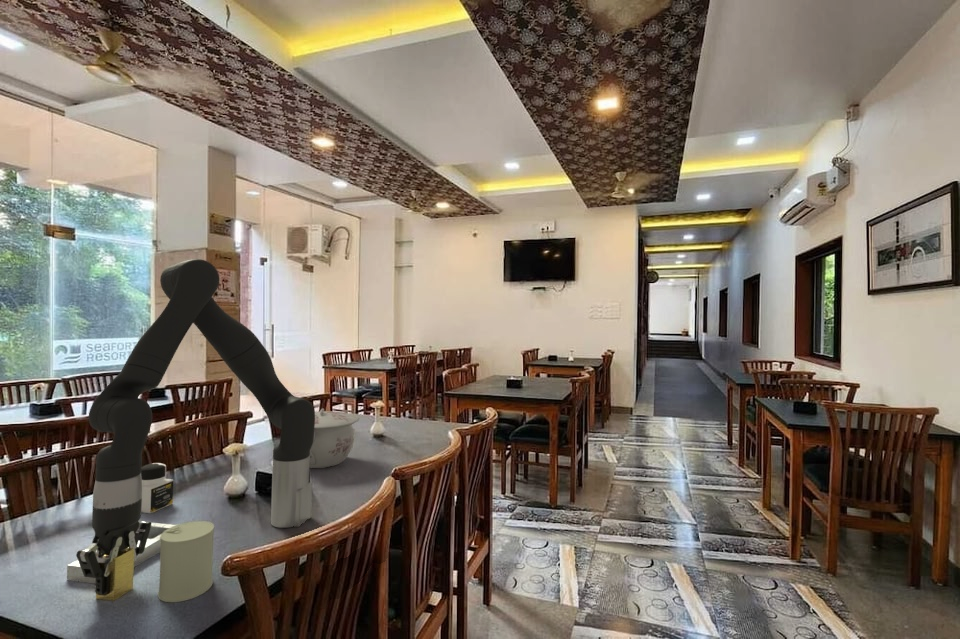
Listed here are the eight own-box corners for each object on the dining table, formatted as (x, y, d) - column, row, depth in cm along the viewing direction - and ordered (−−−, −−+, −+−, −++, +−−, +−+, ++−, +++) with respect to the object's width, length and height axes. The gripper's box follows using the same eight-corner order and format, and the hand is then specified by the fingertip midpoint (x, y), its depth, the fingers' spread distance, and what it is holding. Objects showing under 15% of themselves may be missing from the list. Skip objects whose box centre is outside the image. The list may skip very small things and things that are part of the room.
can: (175, 575, 94) (177, 518, 95) (221, 575, 95) (223, 518, 95) (146, 603, 85) (148, 539, 85) (197, 602, 86) (199, 539, 86)
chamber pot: (329, 448, 190) (330, 399, 190) (373, 462, 174) (374, 408, 174) (264, 464, 167) (266, 408, 167) (308, 481, 151) (310, 419, 151)
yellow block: (132, 588, 90) (134, 548, 90) (113, 600, 86) (115, 558, 86) (115, 586, 90) (116, 546, 90) (95, 598, 86) (97, 556, 86)
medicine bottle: (150, 514, 123) (152, 470, 123) (129, 511, 125) (130, 467, 125) (173, 503, 130) (174, 462, 130) (152, 501, 132) (154, 460, 132)
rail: (183, 538, 110) (183, 525, 110) (104, 584, 91) (105, 569, 91) (151, 534, 112) (151, 522, 112) (66, 580, 92) (67, 565, 92)
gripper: (99, 516, 81) (95, 612, 80) (165, 487, 95) (162, 569, 94) (63, 512, 82) (59, 607, 81) (133, 484, 96) (131, 566, 96)
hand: (115, 586), depth 88 cm, fingers closed on yellow block, 4 cm apart
